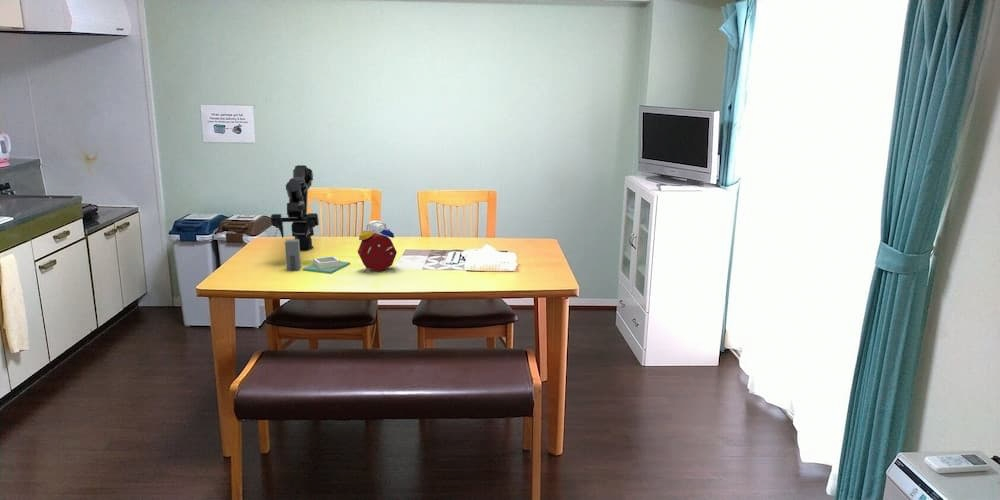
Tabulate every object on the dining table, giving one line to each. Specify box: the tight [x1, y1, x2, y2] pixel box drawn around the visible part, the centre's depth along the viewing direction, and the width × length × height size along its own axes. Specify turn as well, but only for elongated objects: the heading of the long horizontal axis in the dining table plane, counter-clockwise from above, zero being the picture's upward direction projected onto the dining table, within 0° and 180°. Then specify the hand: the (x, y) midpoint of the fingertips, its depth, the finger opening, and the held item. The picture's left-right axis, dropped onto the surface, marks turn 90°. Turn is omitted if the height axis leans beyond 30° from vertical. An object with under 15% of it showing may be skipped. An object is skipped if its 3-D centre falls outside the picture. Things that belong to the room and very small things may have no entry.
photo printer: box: [368, 220, 387, 236], centre depth 328 cm, size 10×4×12 cm, turn 39°
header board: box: [302, 255, 351, 274], centre depth 297 cm, size 13×15×3 cm
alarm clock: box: [357, 222, 398, 273], centre depth 291 cm, size 15×9×20 cm, turn 111°
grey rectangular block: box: [284, 238, 302, 272], centre depth 292 cm, size 5×5×12 cm
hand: (294, 237), depth 297 cm, fingers open, 9 cm apart
